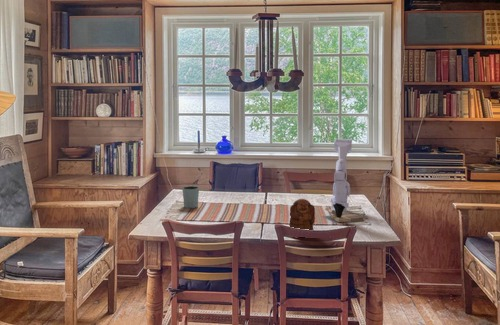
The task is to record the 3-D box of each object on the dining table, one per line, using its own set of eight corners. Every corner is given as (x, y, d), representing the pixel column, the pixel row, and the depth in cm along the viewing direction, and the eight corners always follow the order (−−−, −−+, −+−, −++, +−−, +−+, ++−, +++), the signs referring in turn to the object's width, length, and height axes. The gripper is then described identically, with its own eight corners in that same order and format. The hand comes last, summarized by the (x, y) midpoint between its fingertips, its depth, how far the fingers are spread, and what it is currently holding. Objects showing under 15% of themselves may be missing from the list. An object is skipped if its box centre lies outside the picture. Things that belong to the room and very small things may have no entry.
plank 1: (324, 209, 257) (326, 206, 257) (335, 215, 260) (336, 212, 260) (331, 212, 250) (332, 209, 250) (342, 218, 253) (343, 215, 253)
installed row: (336, 215, 260) (337, 212, 260) (348, 214, 263) (348, 211, 263) (351, 221, 247) (351, 218, 247) (363, 220, 250) (363, 217, 249)
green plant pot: (200, 205, 282) (200, 186, 281) (197, 208, 272) (197, 189, 271) (184, 204, 283) (184, 185, 282) (180, 208, 273) (180, 188, 272)
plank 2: (331, 218, 250) (331, 215, 250) (343, 218, 253) (343, 215, 253) (338, 222, 244) (338, 218, 243) (350, 221, 247) (351, 218, 246)
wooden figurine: (292, 237, 217) (293, 201, 215) (288, 234, 223) (289, 198, 221) (315, 236, 220) (317, 200, 217) (311, 232, 226) (312, 197, 223)
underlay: (321, 216, 257) (321, 216, 257) (348, 214, 264) (348, 213, 264) (336, 223, 243) (336, 223, 243) (364, 221, 249) (364, 220, 249)
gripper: (326, 190, 251) (325, 214, 252) (341, 195, 237) (339, 221, 239) (337, 190, 253) (336, 213, 255) (352, 195, 240) (351, 220, 242)
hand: (338, 217), depth 247 cm, fingers closed, pressing on plank 2
